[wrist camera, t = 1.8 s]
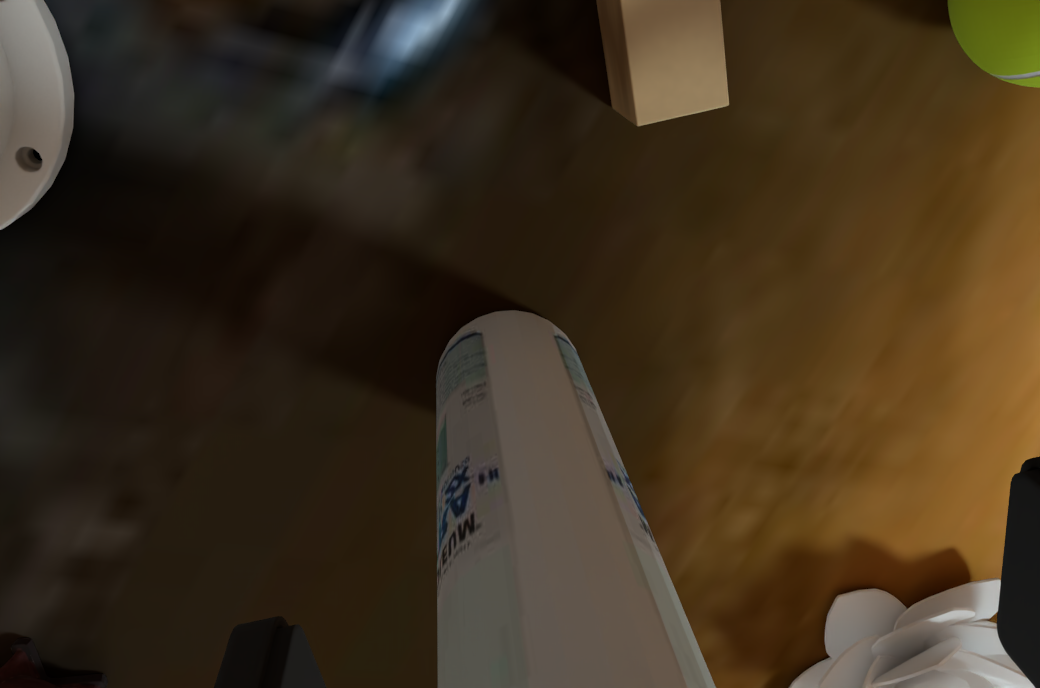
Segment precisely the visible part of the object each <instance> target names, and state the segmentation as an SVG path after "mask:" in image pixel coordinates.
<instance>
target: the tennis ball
mask: <svg viewBox="0 0 1040 688" xmlns="http://www.w3.org/2000/svg"><path fill="white" fill-rule="evenodd" d="M948 11H949V17H950V21H951V25H952V29H953V31H954V34H955V36H956V38H957V40H958V42H959V44H960V46H961V47H962V49H963V50H964V52H965V53H966V54H967V55H968V57H969V58H970V59H971V60H972V61H973V62H974V63H975V64H976V65H977V66H979V67H980V68H981V69H983V70H984V71H986V72H988V73H989V74H991V75H992V76H994V77H996V78H999V79H1001V80H1003V81H1006V82H1010V83H1013V84H1017V85H1022V86H1029V87H1040V0H948Z"/></svg>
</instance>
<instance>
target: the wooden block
mask: <svg viewBox="0 0 1040 688" xmlns="http://www.w3.org/2000/svg"><path fill="white" fill-rule="evenodd" d="M596 2H597V9H598V15H599V22H600V29H601V36H602V42H603V49H604V56H605V63H606V69H607V76H608V83H609V90H610V96H611V103H612V108H613V109H614V110H615V111H617V112H618V113H620V114H621V115H622V116H624V117H625V118H627V119H628V120H629V121H631V122H632V123H634V124H635V125H636V126H642V125H646V124H651V123H655V122H659V121H664V120H668V119H672V118H677V117H681V116H686V115H690V114H694V113H699V112H703V111H707V110H712V109H716V108H721V107H725V106H728V105H729V98H728V86H727V75H726V63H725V51H724V40H723V28H722V16H721V4H720V0H596Z"/></svg>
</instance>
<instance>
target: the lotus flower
mask: <svg viewBox="0 0 1040 688" xmlns="http://www.w3.org/2000/svg"><path fill="white" fill-rule="evenodd" d="M1000 586H1001V581H1000V579H999V578H991V579H986V580H980V581H975V582H970V583H967V584H964V585H961V586H958V587H954V588H951V589H949V590H946V591H943V592H941V593H938V594H935V595H933V596H930V597H928V598H926V599H924V600H921V601H919V602H917V603H915V604H913V605H912V606H911V607H910V608H908V609H907V607H906V606H904V605H903V604H902V603H901V602H900V601H899V600H898V599H897V598H896V597H894V596H893V595H891V594H889V593H888V592H886V591H882V590H879V589H875V588H874V589H864V590H857V591H853V592H849V593H845V594H841V595H838V596H837V597H836V598H835V600H834V602H833V604H832V606H831V608H830V611H829V613H828V615H827V620H826V626H825V647H826V652H827V654H828V655H829V656H830V658H827V659H825V660H823V661H821V662H818V663H817V664H815V665H813V666H812V667H810V668H809V669H807V670H805V671H804V672H803V673H802V674H801V675H799V676H798V677H797V678H796V679H795V680H794V681H793V682H792V683H791V685H790V686H789V688H1035V687H1034V685H1033V684H1032V683H1031V682H1030V681H1029V679H1028V678H1027V677H1026V676H1025V675H1024V673H1023V672H1022V671H1021V670H1020V669H1019V668H1018V666H1017V665H1016V664H1015V663H1014V662H1013V660H1012V659H1011V658H1010V657H1009V656H1008V654H1007V653H1006V651H1005V650H1004V648H1003V646H1002V644H1001V642H1000V639H999V637H998V632H997V623H993V622H990V621H988V620H989V619H990V618H991V617H992V616H993V615H994V614H995V613H996V612H997V611H998V606H999V596H1000Z"/></svg>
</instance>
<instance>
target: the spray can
mask: <svg viewBox="0 0 1040 688" xmlns="http://www.w3.org/2000/svg"><path fill="white" fill-rule="evenodd" d="M436 431H437V609H438V688H716V687H715V685H714V682H713V680H712V678H711V675H710V673H709V670H708V668H707V666H706V663H705V661H704V658H703V656H702V654H701V651H700V649H699V646H698V644H697V641H696V639H695V637H694V634H693V632H692V629H691V627H690V625H689V622H688V620H687V617H686V615H685V612H684V610H683V608H682V605H681V603H680V600H679V598H678V596H677V593H676V591H675V588H674V586H673V584H672V581H671V579H670V576H669V574H668V571H667V569H666V567H665V564H664V562H663V559H662V557H661V555H660V552H659V550H658V547H657V545H656V543H655V540H654V538H653V535H652V533H651V530H650V528H649V526H648V523H647V521H646V518H645V516H644V514H643V511H642V509H641V506H640V504H639V502H638V499H637V497H636V494H635V492H634V489H633V487H632V485H631V482H630V480H629V477H628V475H627V473H626V470H625V468H624V465H623V463H622V460H621V458H620V456H619V453H618V451H617V448H616V446H615V444H614V441H613V439H612V436H611V434H610V432H609V429H608V427H607V424H606V422H605V419H604V417H603V415H602V412H601V410H600V407H599V405H598V403H597V400H596V398H595V395H594V393H593V391H592V388H591V386H590V383H589V381H588V378H587V376H586V374H585V371H584V369H583V366H582V364H581V362H580V359H579V357H578V354H577V352H576V349H575V348H574V346H573V345H572V343H571V342H570V340H569V339H568V337H567V336H566V334H564V333H563V332H562V331H561V330H560V329H559V328H557V327H556V326H555V325H554V324H553V323H551V322H550V321H549V320H547V319H544V318H542V317H540V316H538V315H535V314H533V313H528V312H522V311H516V310H510V311H498V312H493V313H490V314H487V315H484V316H481V317H478V318H476V319H474V320H473V321H471V322H470V323H468V324H467V325H465V326H463V327H462V328H461V329H460V330H459V331H458V332H457V333H456V334H455V335H454V336H453V338H452V339H451V340H450V341H449V343H448V344H447V346H446V348H445V350H444V352H443V354H442V356H441V358H440V360H439V365H438V370H437V375H436Z"/></svg>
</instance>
